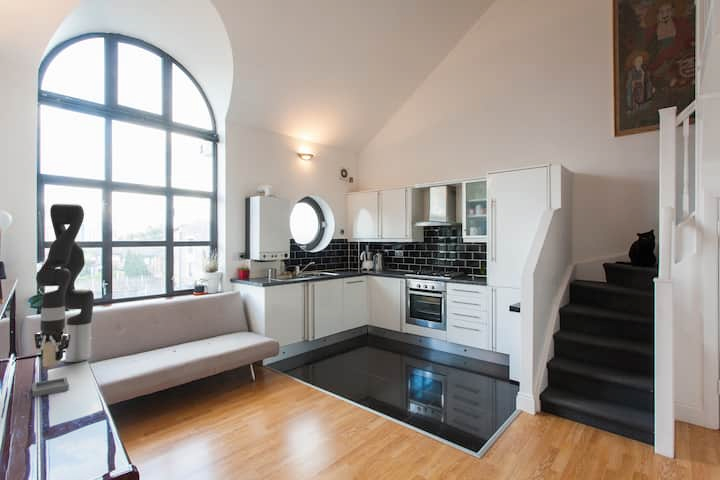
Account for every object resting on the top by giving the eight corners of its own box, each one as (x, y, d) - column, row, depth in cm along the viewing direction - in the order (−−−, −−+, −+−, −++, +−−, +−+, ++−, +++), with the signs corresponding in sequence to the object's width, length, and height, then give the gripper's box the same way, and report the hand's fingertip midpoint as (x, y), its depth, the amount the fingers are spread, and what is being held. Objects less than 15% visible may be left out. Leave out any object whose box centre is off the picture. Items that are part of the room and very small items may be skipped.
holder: (32, 388, 135) (32, 383, 135) (66, 382, 142) (66, 377, 142) (32, 396, 128) (33, 391, 128) (68, 389, 135) (68, 384, 135)
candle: (39, 365, 142) (40, 340, 142) (55, 361, 147) (56, 337, 147) (47, 367, 140) (48, 342, 140) (63, 363, 145) (64, 338, 145)
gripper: (77, 316, 147) (76, 357, 147) (45, 314, 148) (44, 355, 148) (60, 320, 139) (59, 363, 139) (27, 318, 141) (26, 361, 141)
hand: (51, 359), depth 144 cm, fingers closed on candle, 5 cm apart
